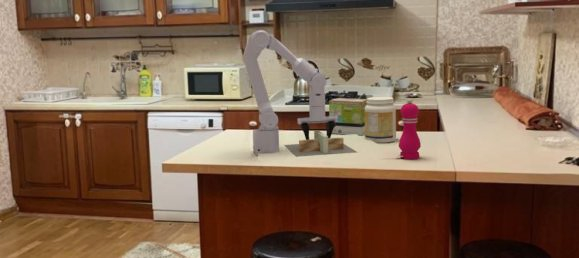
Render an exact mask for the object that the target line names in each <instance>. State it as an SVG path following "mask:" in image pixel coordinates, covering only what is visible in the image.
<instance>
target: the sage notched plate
mask: <svg viewBox="0 0 579 258" xmlns="http://www.w3.org/2000/svg"><path fill="white" fill-rule="evenodd" d="M313 135H314V136H313V139H317V140H318V144H320V151H321V152H322V153H324V154H326V153H328V136H326V135H327V134H324V133H323V132H322V131H320V130H313Z"/></svg>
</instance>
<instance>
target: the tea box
mask: <svg viewBox="0 0 579 258" xmlns="http://www.w3.org/2000/svg"><path fill="white" fill-rule="evenodd" d="M366 105H368V104H367V98H351V97H350V98H348V97H338V98H334V99H331V100H329V101H328V107H329V108H328V110H329V111H328V117H333V116H336V117H337V122H335V127H334V129H333V131H332V134H333V135H334V134H338V135H348V136H349V135H357V136H365V106H366Z"/></svg>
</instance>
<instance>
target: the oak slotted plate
mask: <svg viewBox="0 0 579 258" xmlns="http://www.w3.org/2000/svg"><path fill="white" fill-rule="evenodd" d="M298 144H299V151H300V152H309V151H320V144H318V140H317V139H314V138H313V139H310V138H309V140H306V139H299V140H298ZM344 144H345V143H344V137H331V138H328V150H338V149H344Z"/></svg>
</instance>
